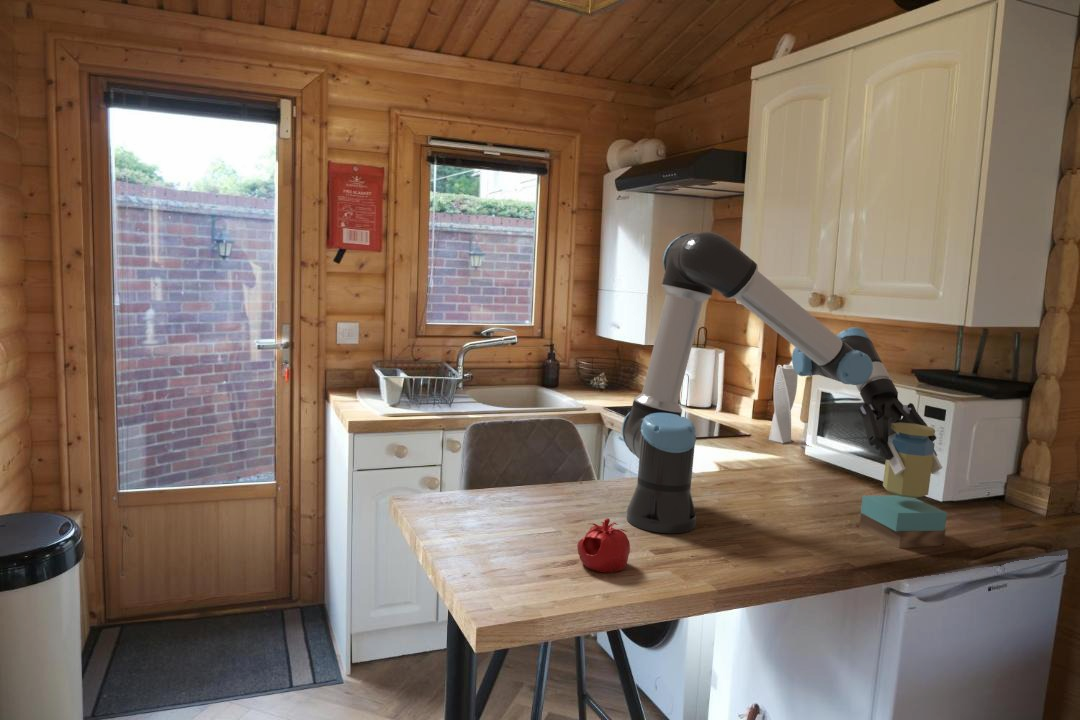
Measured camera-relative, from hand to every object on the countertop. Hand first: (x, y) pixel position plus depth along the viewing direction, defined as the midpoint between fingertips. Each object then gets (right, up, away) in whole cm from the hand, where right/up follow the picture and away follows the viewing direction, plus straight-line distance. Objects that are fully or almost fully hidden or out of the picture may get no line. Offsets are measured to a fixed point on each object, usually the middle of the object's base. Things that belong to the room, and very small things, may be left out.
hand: (918, 471), depth 162 cm
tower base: (-2, -16, +5) cm, 16 cm away
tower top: (-2, -12, +4) cm, 12 cm away
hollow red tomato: (-70, -15, -22) cm, 75 cm away
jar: (-1, -6, +4) cm, 7 cm away
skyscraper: (0, -4, +95) cm, 95 cm away
